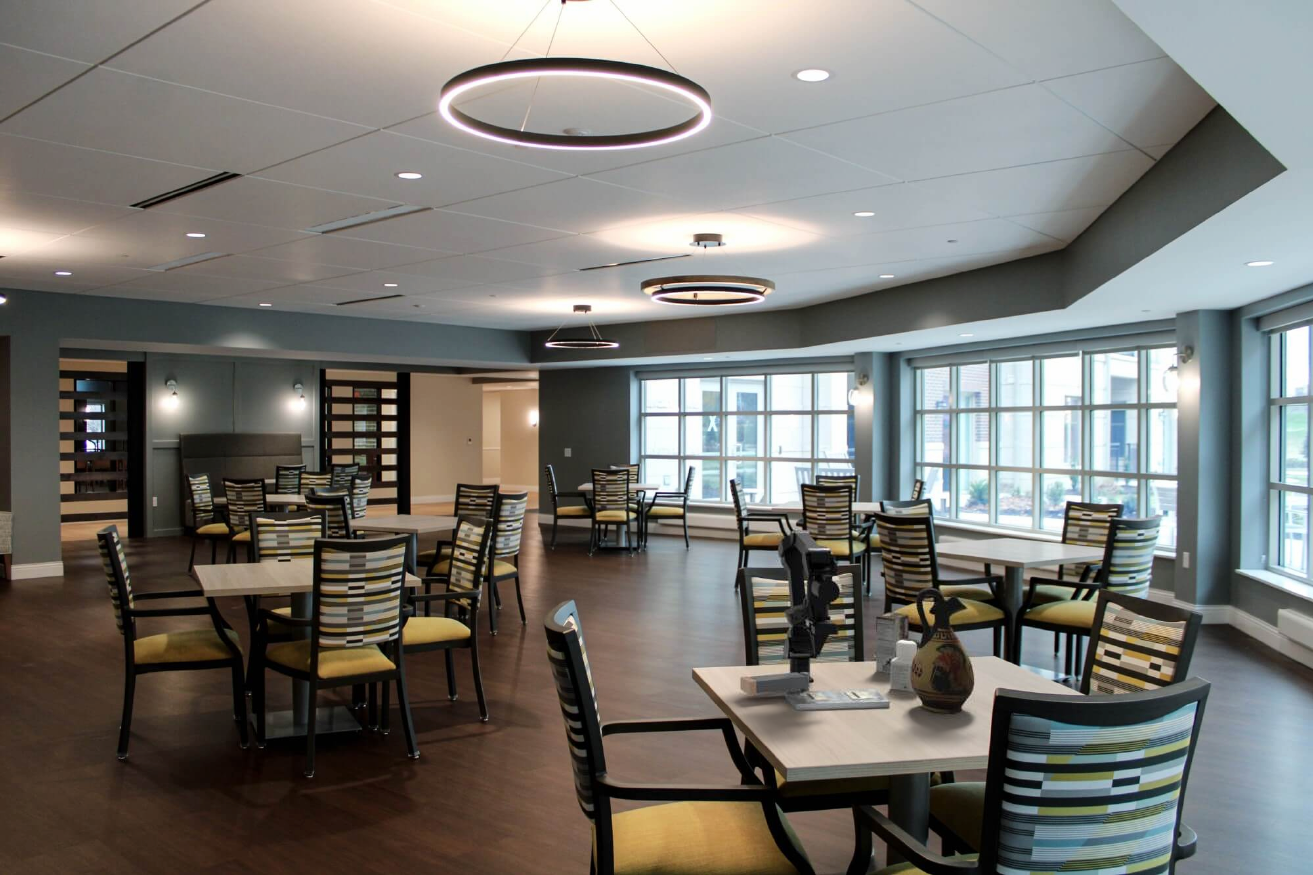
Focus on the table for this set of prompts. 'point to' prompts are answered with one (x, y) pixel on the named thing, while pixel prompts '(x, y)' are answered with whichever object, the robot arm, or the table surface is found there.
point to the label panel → (836, 699)
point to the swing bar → (775, 682)
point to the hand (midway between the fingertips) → (816, 654)
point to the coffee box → (889, 638)
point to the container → (903, 664)
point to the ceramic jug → (941, 658)
